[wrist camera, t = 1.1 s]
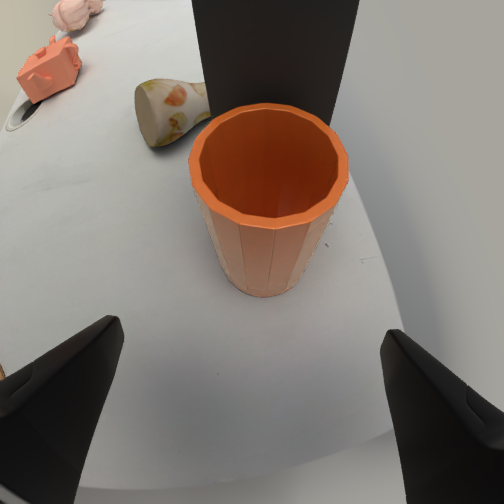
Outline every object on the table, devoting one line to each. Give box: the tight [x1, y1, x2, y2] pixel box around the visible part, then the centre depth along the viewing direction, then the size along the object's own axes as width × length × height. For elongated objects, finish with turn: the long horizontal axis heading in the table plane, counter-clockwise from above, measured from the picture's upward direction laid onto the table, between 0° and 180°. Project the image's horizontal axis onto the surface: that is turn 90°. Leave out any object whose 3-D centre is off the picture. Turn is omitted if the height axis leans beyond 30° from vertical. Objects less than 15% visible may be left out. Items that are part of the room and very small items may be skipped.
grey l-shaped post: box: [191, 0, 359, 126], centre depth 15 cm, size 4×7×24 cm, turn 86°
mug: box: [135, 79, 211, 147], centre depth 27 cm, size 8×10×10 cm
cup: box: [188, 103, 349, 297], centre depth 19 cm, size 7×7×13 cm
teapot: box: [17, 35, 82, 104], centre depth 32 cm, size 12×15×8 cm
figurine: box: [50, 0, 103, 32], centre depth 40 cm, size 11×12×18 cm
